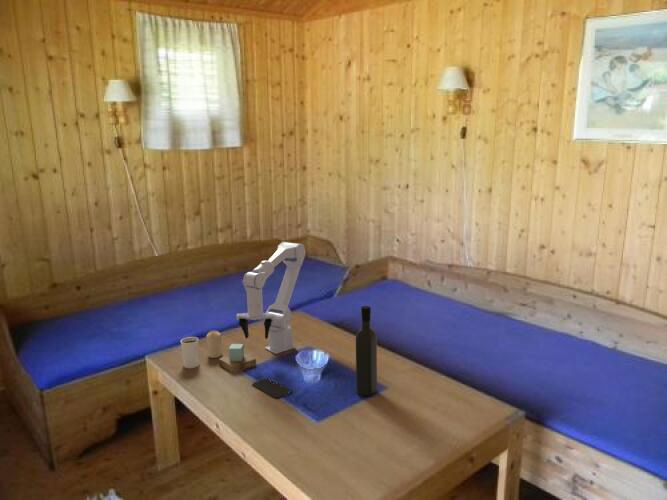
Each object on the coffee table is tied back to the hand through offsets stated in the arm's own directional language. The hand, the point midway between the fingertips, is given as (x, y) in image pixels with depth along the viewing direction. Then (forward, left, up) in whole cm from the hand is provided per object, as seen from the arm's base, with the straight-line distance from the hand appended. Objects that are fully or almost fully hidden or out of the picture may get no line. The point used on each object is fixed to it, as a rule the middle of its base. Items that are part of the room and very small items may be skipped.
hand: (256, 337), depth 208 cm
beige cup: (+21, -14, -10) cm, 27 cm away
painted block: (+8, -2, -7) cm, 11 cm away
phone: (+9, +23, -10) cm, 27 cm away
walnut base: (+8, -2, -10) cm, 13 cm away
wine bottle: (-13, +47, -10) cm, 50 cm away
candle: (+10, -16, -10) cm, 21 cm away
